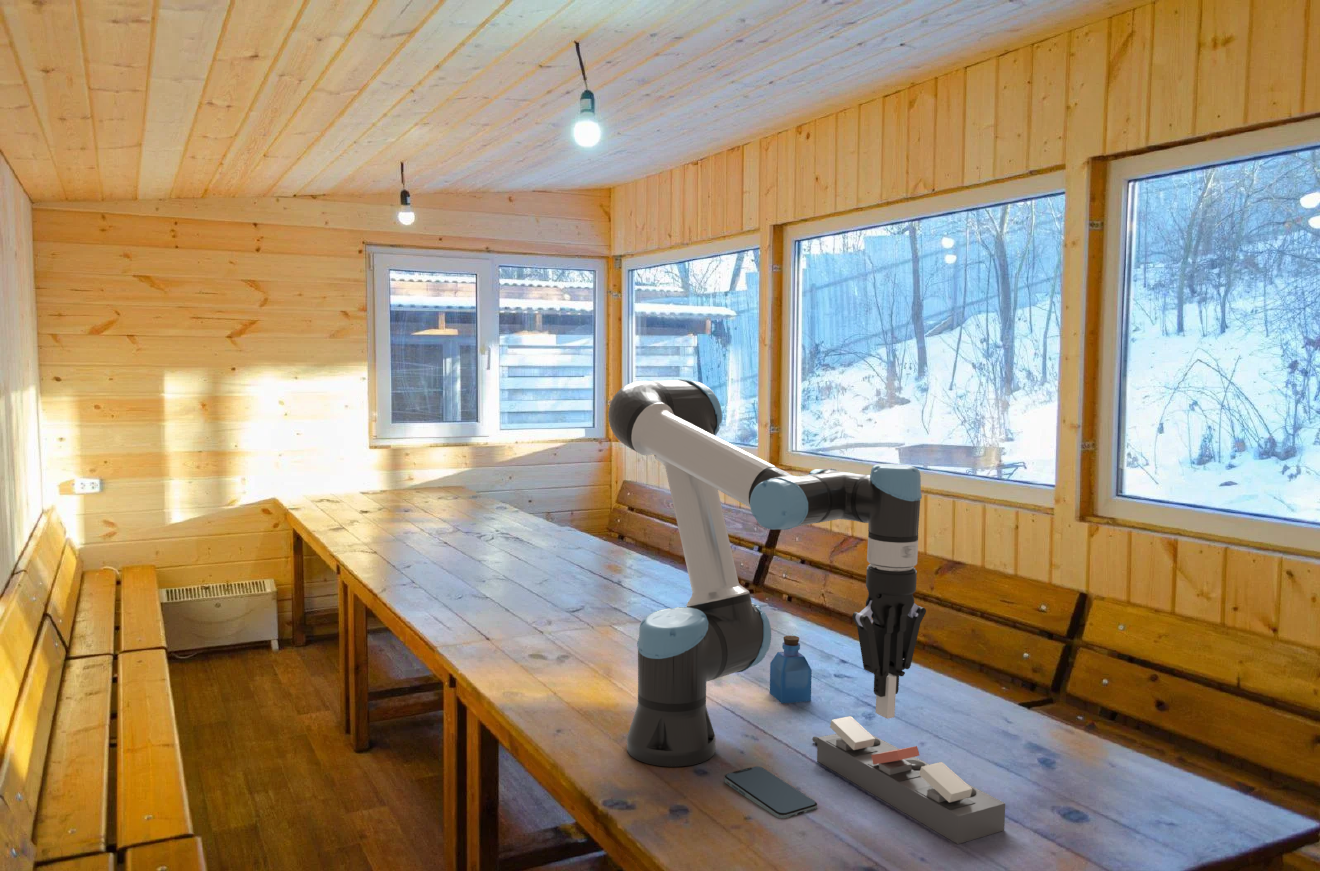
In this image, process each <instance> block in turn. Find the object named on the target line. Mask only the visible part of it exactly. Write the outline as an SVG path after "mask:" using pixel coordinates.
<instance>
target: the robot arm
mask: <svg viewBox="0 0 1320 871" xmlns="http://www.w3.org/2000/svg"><path fill="white" fill-rule="evenodd" d="M607 415H608V424H609V427H610V429H611V431H612V433H613V435H614V437H615V438H616V439H617V440H618V441H619V442H620V443H622V444H623V445H624V446H626V447H628V448H629V449H631V450H633V451H634V452H636V453H638V454H640V455H641V456H652V455H654V459H655V460H656V461H658V462H659V463H661V464H662V465H663V466H664V467H665V468H664V469H665V472H666V477H667V481H668V486H669V491H670V495H671V500H672V504H673V509H674V514H675V517H676V524H677V529H678V532H679V538H680V542H681V547H682V550H683V556H684V560H685V564H686V568H687V569H686V570H687V574H688V578H689V584H690V588H691V592H692V593H691V597H690V598H689V600H688V602H687V603H686V606H677V607H675V608H671V607H669V608H663V609H659V610H657V611H654V612H652V613H649V614H648V615H646V616H645V617H644V618H643V619H642V621H641V623H640V624H639V628H638V629H639V630H638V639H637V643H636V647H637V706H636V709H635V712H634V714H633V718H632V721H631V724H630V727H629V730H628V733H627V737H626V751H627V753H628V755H629V756H631V757H632V758H634V759H635V760H637V761H639V762H642V763H644V764H647V765H648V764H649V765H653V766H659V767H668V768H669V767H675V768H677V767H688V766H694V765H698V764H701V763H704V762H706V761H708V760H709V759H711V758H712V757H714V755H715V754H716V750H717V749H716V748H717V746H716V745H717V744H716V743H717V741H716V734H715V732H714V727H713V725H712V724H713V723H712V722H711V717H710V715H709V711H708V709H707V682H709V681H713V680H717V679H719V678H723V677H725V676H729V675H731V674H736V673H742V672H745V671H747V670H749V669H750V668H752V667H755V666H756V665H758V664H759V663H761V662H762V661H763V660H764V658H765V657H766V655H767V653H768V652H769V649H770V647H771V643H772V628H771V627H772V626H771V623H770V620H769V616H768V614H767V613H766V612H765V611H764V610H762V608H761V606H760V605H759V604H756V603H755V602H752V597H751V594H750V591H749V590H748V589H747V588H745V587H743V586H742V585H741V584H740V583H739V579H738V574H737V573H738V572H737V569H736V565H735V561H734V555H733V551H732V547H731V542H730V537H729V534H728V529H727V526H726V521H725V515H724V510H723V507H722V502H721V499H720V498H721V497H720V494H719V492H721V493H722V494H724V495H727V496H728V497H730V498H732V499H733V500H735V501H737V502H739V503H741V504H743V505H745V506H746V507H748V508H750V512H751V514H752V516H753V517H754V519H755V520H756V522H757V524H758V525H760V526H761V527H762V528H765V529H768V530H790V529H794V528H799V527H801V526H802V527H803V526H808V525H812V524H819V523H820V524H821V523H825V522H831V521H835V520H836V521H837V520H846V521H852V522H859V523H864V524H867V525H868V536H867V552H866V554H867V555H866V562H868V563H869V564H868V565H867V566H866V577H865V578H866V579H865V580H866V581H865V588H866V590H867V592H868V595H867V599H866V601H865V607H864V608H863V609H861V611H860V612H857V611H854V612H853V614H852V616H851V617H852V620H853V622H854V623H855V626H856V627H857V634H858V640H859V647H860V652H861V660H862V666H863V670H865V671H867V672H869V673H871V674H873V676H874V677H873V678H874V679H873V694H874V696H875V712H874V713H875V714H876V715H877V714H878V715H879V716H880V717H883V718H885V719H888V720H889V719H892V718H895V713H896V712H895V711H896V695H897V694H898V693H899V689H900V687H899V686H900V677H904V676H905V674H906V671H904V670H909V669H911V666H912V662H913V656H914V654H915V648H916V644H917V640H918V635H919V633H920V632H919V631H920V627H921V623H922V621H923V619H924V617H925V616H926V613H927V610H926V608H925V607H922V606H919V605H917V604H916V603H915V598H914V593H916V591H917V577H918V571H917V570H916V567H915V566H917V565H918V554H919V528H920V527H919V525H920V511H921V501H922V493H921V492H922V489H921V485H922V483H921V482H922V480H921V477H922V476H921V472H920V470H919V469H918V468H917V467H916V466H913V465H907V464H900V463H899V464H896V463H876V464H875V465H873V466H872V467H871V469H870V470H871V471H870V474H862V473H856V472H855V473H854V472H848V471H843V470H837V469H834V468H828V469H825V468H823V469H821V468H818V469H817V468H815V469H812V470H811V471H809V473H808V474H805V475H794V474H791V473H789V472H787V471H785V470H783V469H781V468H779V467H776V466H775V465H774V464H772V463H770V462H768V461H766V460H763V459H762V458H760V457H757V455H756V456H755V455H754V454H752V453H750V452H748V451H745V450H744V449H742V448H740V447H739V446H735V445H733V444H732V443H730V442H728V441H726V440H724V439H722V438H721V437H719V436H716V435H718V433H719V431H720V429H721V424H722V421H723V411H722V406H721V403H720V400H719V399H718V397H717V395H716V394H715V392H714V391H713V390H712V389H711V388H710V387H708V386H707V385H705V384H704V383H703V382H700V381H694V380H688V379H675V380H637V381H634V382H630V383H627V384H626V385H624V386H623V387H621V388H620V389H619V390H618V391H617V392H616V393H615V395H614V396H613V398H612V399H611V401H610V404H609V407H608V413H607Z"/></svg>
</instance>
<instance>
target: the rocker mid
mask: <svg viewBox="0 0 1320 871" xmlns="http://www.w3.org/2000/svg"><path fill="white" fill-rule="evenodd" d="M871 756H872V760H873V764H879V763H886V762H892V761H898V760H903V759H907V758H911V757H919V756H921V755H920V752H919V747H918V746H917V745H916V746H911V747H909V746H908V747H904V748H899V749H898V750H892V751H888V752H883V753H879V754H874V755H871Z"/></svg>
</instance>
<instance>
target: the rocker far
mask: <svg viewBox="0 0 1320 871" xmlns="http://www.w3.org/2000/svg"><path fill="white" fill-rule="evenodd" d="M829 728H830V729H831V730H832V731H833V732H834V734H838V735H839V736H840V737H841V738H842V739H843V740H844V741H845V742H846V743H847V744H848V745H849V746H850V747H851V748H852V749H853V750H857V749H861V748H866V747H870V746H873V745H874V741H875V738H874V737H873V736H874V735H873V734H872V733H870V732H869V731H868V730H866V728H864V727H863V726H862V725H861V723H859V722H858V721H857V720H856V719H855V718H853V717H852V716H851V715H849V716H845V717H840V718H839V717H838V718H835V719H831V721H830V726H829ZM871 734H872V735H873V736H872V735H871Z"/></svg>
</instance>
